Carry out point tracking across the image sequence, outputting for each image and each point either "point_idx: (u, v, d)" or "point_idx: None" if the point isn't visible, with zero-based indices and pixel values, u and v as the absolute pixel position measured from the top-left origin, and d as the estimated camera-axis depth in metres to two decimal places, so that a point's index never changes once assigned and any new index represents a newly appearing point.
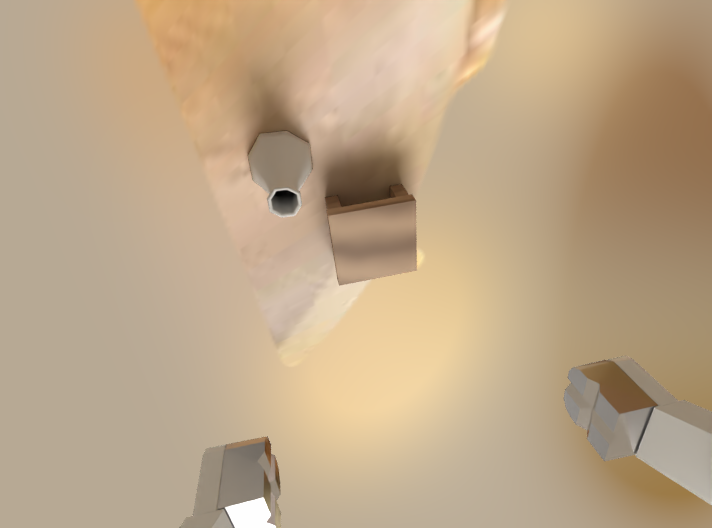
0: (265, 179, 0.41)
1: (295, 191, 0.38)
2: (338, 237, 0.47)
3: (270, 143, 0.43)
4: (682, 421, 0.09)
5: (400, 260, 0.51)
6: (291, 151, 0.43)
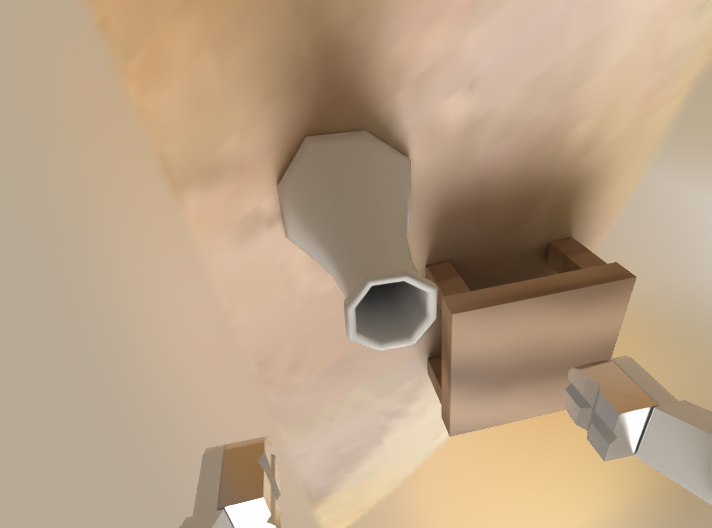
0: (326, 242, 0.17)
1: (426, 285, 0.13)
2: (465, 354, 0.22)
3: (332, 156, 0.18)
4: (682, 421, 0.09)
5: None
6: (380, 174, 0.18)
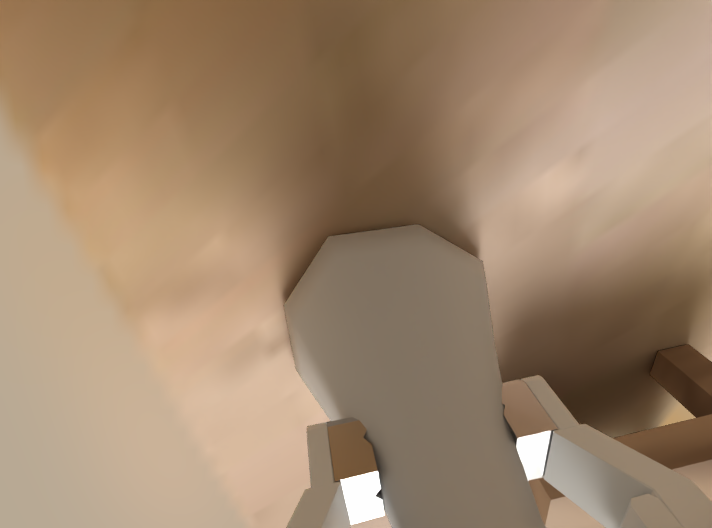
0: None
1: None
2: None
3: (372, 276, 0.12)
4: (578, 446, 0.09)
5: None
6: (451, 305, 0.11)
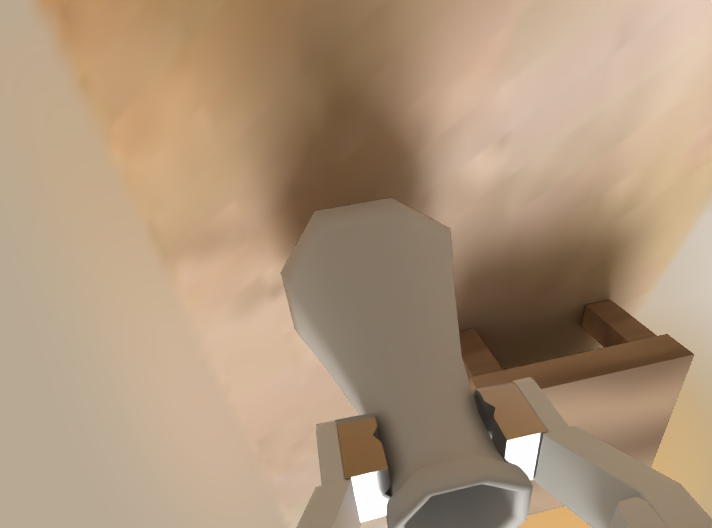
0: (349, 373, 0.12)
1: (515, 484, 0.08)
2: None
3: (351, 241, 0.14)
4: (568, 448, 0.09)
5: None
6: (417, 261, 0.14)
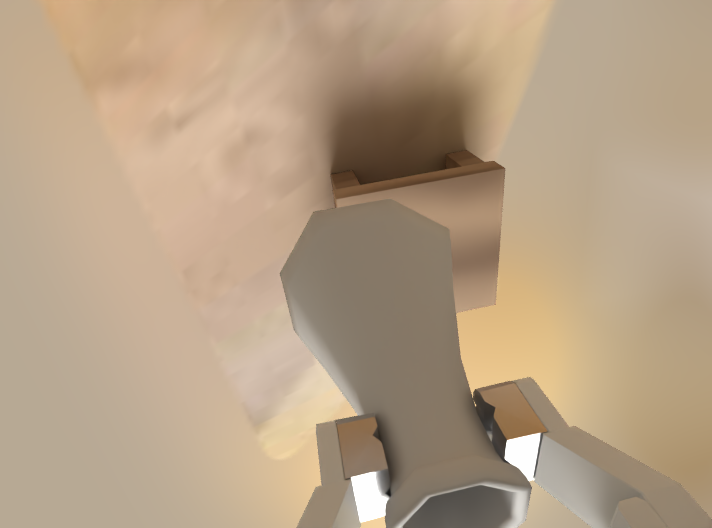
0: (348, 373, 0.12)
1: (514, 485, 0.08)
2: None
3: (350, 241, 0.14)
4: (568, 449, 0.09)
5: (468, 286, 0.28)
6: (416, 262, 0.14)
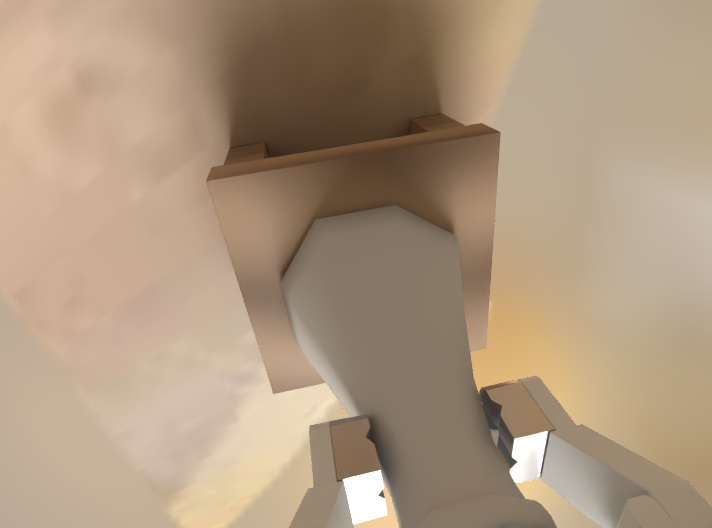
0: (353, 394, 0.11)
1: (538, 527, 0.08)
2: (253, 256, 0.15)
3: (354, 251, 0.13)
4: (575, 447, 0.09)
5: None
6: (424, 273, 0.13)
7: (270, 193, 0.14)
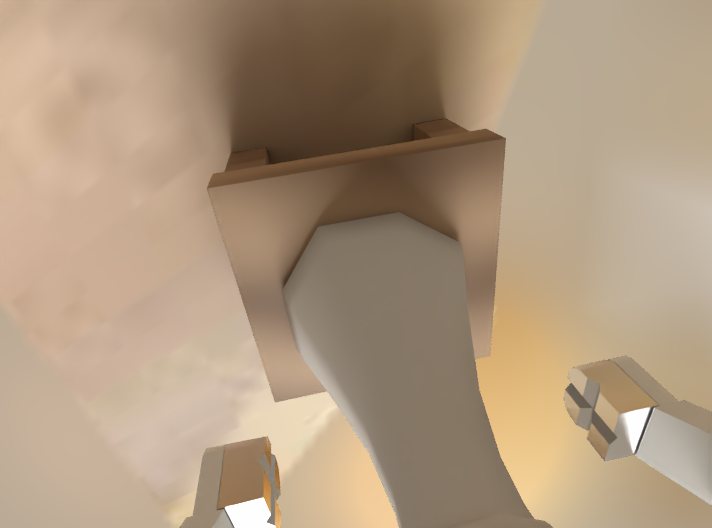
0: (356, 407, 0.11)
1: None
2: (254, 264, 0.15)
3: (357, 260, 0.13)
4: (682, 421, 0.09)
5: None
6: (428, 282, 0.13)
7: (272, 200, 0.14)
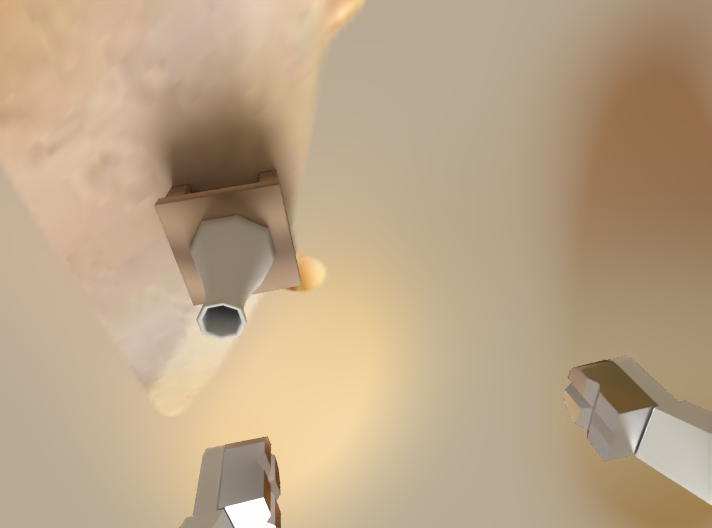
0: (203, 284, 0.31)
1: (234, 306, 0.27)
2: (176, 237, 0.35)
3: (213, 234, 0.33)
4: (682, 421, 0.09)
5: (274, 270, 0.38)
6: (240, 242, 0.33)
7: (181, 210, 0.33)
